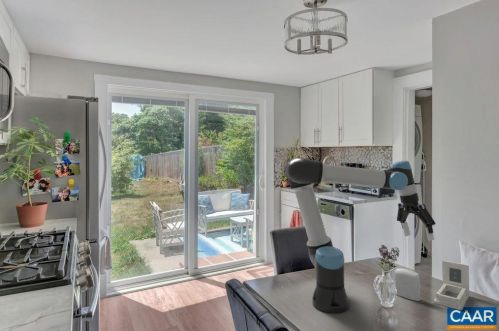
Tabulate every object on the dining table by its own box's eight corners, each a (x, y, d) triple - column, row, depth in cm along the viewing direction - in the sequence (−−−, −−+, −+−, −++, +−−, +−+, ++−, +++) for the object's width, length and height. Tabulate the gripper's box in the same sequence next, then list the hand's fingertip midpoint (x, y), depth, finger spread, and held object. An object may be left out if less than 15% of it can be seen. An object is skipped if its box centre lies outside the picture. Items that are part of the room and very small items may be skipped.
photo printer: (393, 294, 140) (393, 267, 140) (398, 292, 143) (397, 265, 143) (417, 302, 132) (417, 273, 132) (421, 299, 135) (421, 271, 135)
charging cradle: (433, 303, 131) (433, 270, 131) (443, 289, 144) (443, 260, 144) (461, 310, 124) (461, 276, 124) (469, 296, 137) (469, 264, 137)
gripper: (437, 192, 133) (449, 239, 133) (394, 191, 156) (404, 231, 157) (424, 196, 130) (435, 245, 131) (383, 194, 154) (393, 235, 154)
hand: (418, 237), depth 144 cm, fingers open, 13 cm apart
